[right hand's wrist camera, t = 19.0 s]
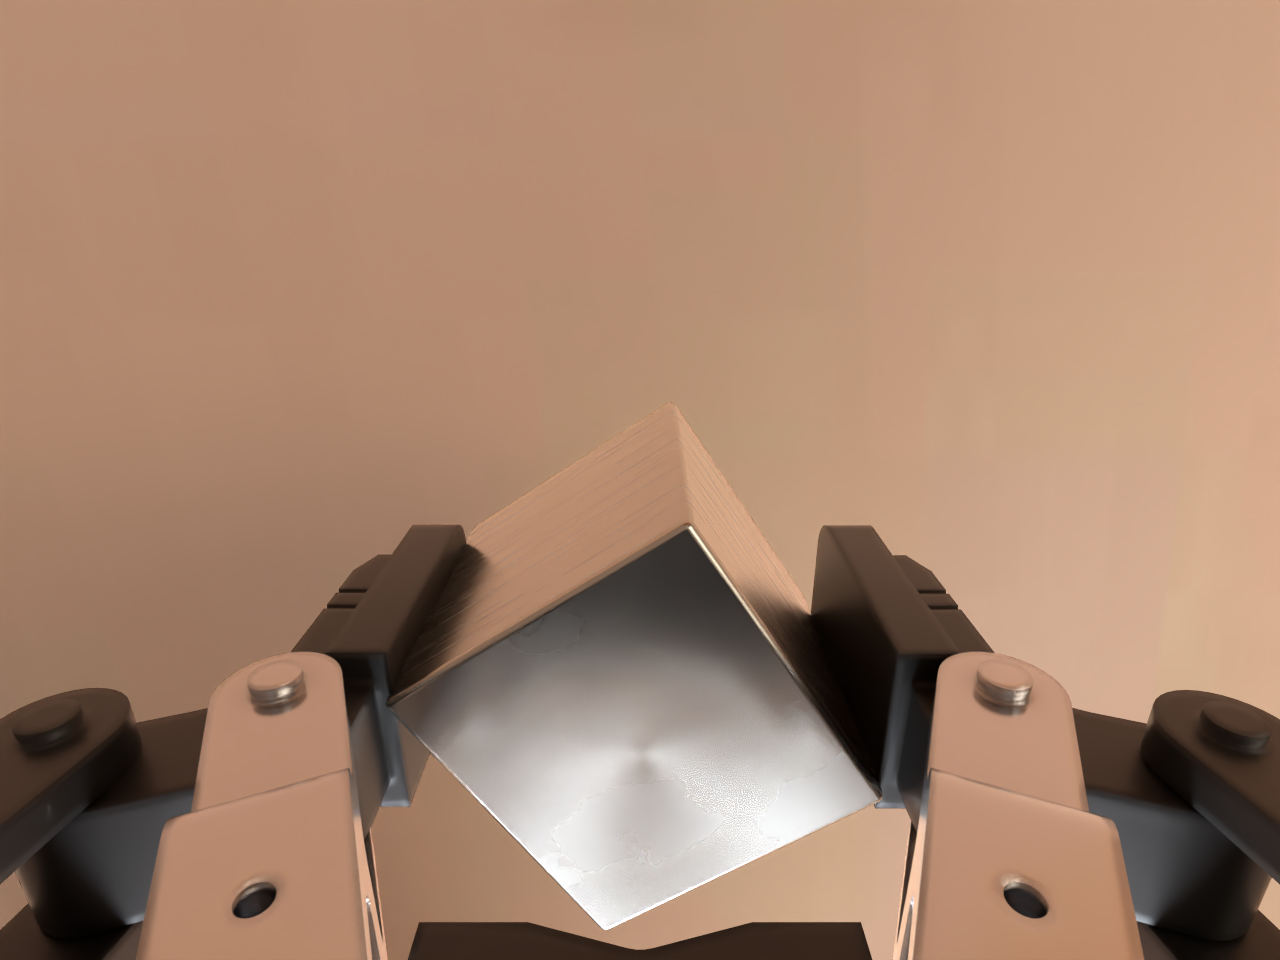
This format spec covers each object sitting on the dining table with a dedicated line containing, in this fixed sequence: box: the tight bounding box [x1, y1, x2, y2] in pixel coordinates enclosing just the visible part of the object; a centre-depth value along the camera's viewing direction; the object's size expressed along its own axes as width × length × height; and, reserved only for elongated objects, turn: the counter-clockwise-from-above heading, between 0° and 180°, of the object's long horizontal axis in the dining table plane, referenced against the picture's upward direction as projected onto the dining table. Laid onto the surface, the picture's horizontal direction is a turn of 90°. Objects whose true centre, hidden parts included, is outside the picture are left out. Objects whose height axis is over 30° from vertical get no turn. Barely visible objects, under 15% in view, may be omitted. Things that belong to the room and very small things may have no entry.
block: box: [386, 402, 883, 930], centre depth 10 cm, size 4×4×5 cm
